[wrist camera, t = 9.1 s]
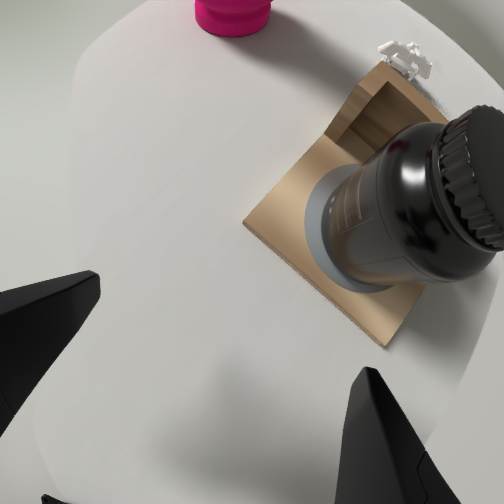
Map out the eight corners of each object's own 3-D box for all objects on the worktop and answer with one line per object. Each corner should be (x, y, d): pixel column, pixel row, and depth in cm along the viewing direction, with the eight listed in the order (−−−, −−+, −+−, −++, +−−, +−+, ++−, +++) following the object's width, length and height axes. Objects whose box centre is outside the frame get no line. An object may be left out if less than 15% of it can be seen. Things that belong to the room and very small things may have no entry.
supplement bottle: (419, 205, 20) (555, 147, 8) (395, 300, 19) (552, 306, 7) (334, 161, 19) (443, 45, 7) (300, 261, 18) (426, 224, 6)
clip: (369, 62, 22) (387, 36, 18) (373, 50, 22) (389, 24, 18) (418, 90, 22) (440, 68, 18) (419, 77, 22) (440, 55, 19)
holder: (378, 343, 19) (441, 364, 12) (242, 223, 19) (254, 189, 12) (452, 225, 21) (516, 207, 14) (341, 115, 21) (382, 59, 14)
